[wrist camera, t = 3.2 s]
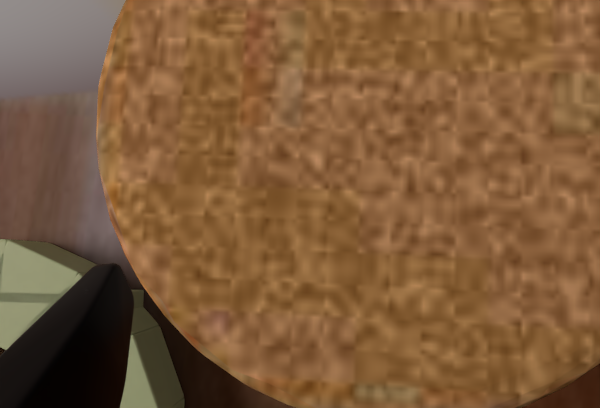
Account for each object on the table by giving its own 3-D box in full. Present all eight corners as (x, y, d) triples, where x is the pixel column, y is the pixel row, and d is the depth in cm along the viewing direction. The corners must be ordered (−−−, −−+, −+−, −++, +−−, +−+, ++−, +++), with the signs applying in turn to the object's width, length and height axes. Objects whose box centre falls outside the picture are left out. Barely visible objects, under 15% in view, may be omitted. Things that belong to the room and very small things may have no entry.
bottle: (399, 340, 18) (668, 670, 3) (244, 277, 19) (-104, 324, 4) (457, 183, 19) (916, -128, 4) (303, 127, 19) (189, -327, 5)
